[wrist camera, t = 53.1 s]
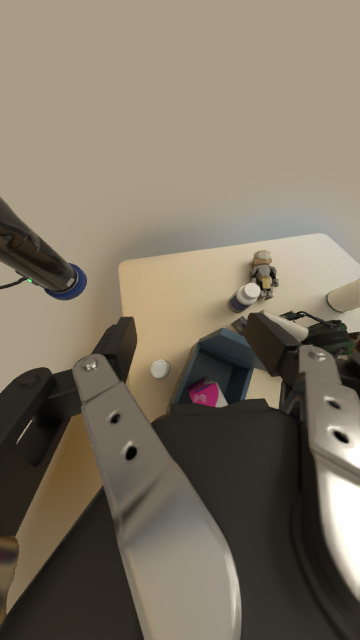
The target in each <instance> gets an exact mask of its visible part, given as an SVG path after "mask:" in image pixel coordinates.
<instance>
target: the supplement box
mask: <svg viewBox="0 0 360 640" xmlns="http://www.w3.org/2000/svg"><path fill="white" fill-rule="evenodd" d="M187 390H188V392H189V395H190V397H191V399H192V402H193V403H198V404H203V405H208V406H213V407H224V406H226V405H228V404H227V402H226V400H225V398H224V396H223V394H222V392H221V390H220V388H219V386H218V384H217V382H214V381H212V380H210V379H208V378H206V377H205V378H203V379H202V380H200V381H198V382H196V383H194V384H192V385H190V386H188V387H187Z"/></svg>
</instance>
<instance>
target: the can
mask: <svg viewBox="0 0 360 640" xmlns="http://www.w3.org/2000/svg"><path fill="white" fill-rule="evenodd" d="M328 302H329V304H330V305H331V307H333V308H334V309H335V310H337V311H341V312H344V311H348V310H351V309H354V308H358V307H360V279H358V280H356V281H354V282H351V283H349V284H347V285H345V286H342V287H340V288H338V289H336V290H334V291H331V292H330V293H329V295H328Z"/></svg>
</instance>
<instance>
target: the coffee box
mask: <svg viewBox="0 0 360 640" xmlns="http://www.w3.org/2000/svg"><path fill="white" fill-rule="evenodd" d="M348 334H349V336H350V339H351V340H352V341H354V343H355V345H356V346H355V347H353V348H352V350H353V353H356V352H358V353H360V332H354V333H348ZM350 355H351V354H350ZM350 355H348V358H349V356H350Z"/></svg>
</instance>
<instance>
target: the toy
mask: <svg viewBox="0 0 360 640" xmlns="http://www.w3.org/2000/svg"><path fill="white" fill-rule="evenodd" d="M253 260H254V268H253V269H252V270H251V271H250V273H251V276H252V275H253V276H252V279H250V282H251V283H255V281H256V276H257V278H258V280H259V281H258V283H259V288H260V294H259V296H258V299H257V300H259V299H262V298H264V297H265V300H268V299H270V298H272V297H274V296H273V294H272V292H273V291H271V288H270V280H269V275H270V276H271V278H272V284H271V286H273V285H274V287H277V286H279V284H278V279H276V277H275V276H276V271H277V270H276V269H275V267H272V266H268V265H269V264H270V262H272V260H271V255H270V252H269V251H265V250H263V251H258V252H256V253H255V254H254V258H253ZM264 289H265V290H266V291H267V292H266V294H267V295H266V296H265V291H263V290H264Z"/></svg>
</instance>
